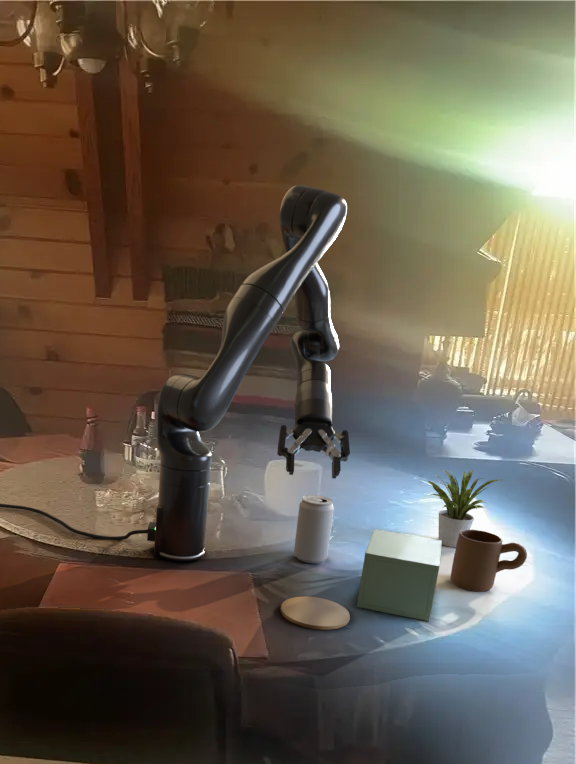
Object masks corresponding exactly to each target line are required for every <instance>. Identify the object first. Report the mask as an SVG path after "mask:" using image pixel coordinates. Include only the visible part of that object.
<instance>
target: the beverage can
mask: <svg viewBox="0 0 576 764" xmlns="http://www.w3.org/2000/svg"><path fill="white" fill-rule="evenodd" d="M301 499H302V500H301V502H300V503H299V505H298V514H297V522H296V531H295V539H294V547H293V555H294V556H295V558H296V559H297V560H298V561H301V562H304V563H306V564H307V563H308V564H321V563H323V562H324V561H326V560H327V559H328V554H329V548H330V539H331V531H332V524H333V518H334V510H335V507H334V505H333V502H334V501H333V500H332V498H329V497H327V496H323V495H317V494H308V495H303V496H302V498H301Z"/></svg>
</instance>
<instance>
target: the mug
mask: <svg viewBox="0 0 576 764" xmlns="http://www.w3.org/2000/svg"><path fill="white" fill-rule="evenodd" d="M511 552H512V553H513V552H516V553H517V556H516V557H515V558H514V559H500V557H501V554H507V553H511ZM527 558H528V551H527V549H526V548H525V546H524V545H522V544H520V543H517V542H508V543H503V538H502V537H500V536H499V535H497V534H495V533H492V532H489V531H485V530H480V529H470V530H462V531H461V532H460V533H459V537H458V540H457V544H456V547H455V548H454V555H453V558H452V559H453V560H452V565H451V569H450V570H451V571H450V581H451V583H453V584H454V585H455V586H456V587H459V588H461V589H464V590H468V591H472V592H487V591H490V590H492V589H493V587H494V584H495V580H496V575H497V573H499V572H502V571H504V570H507V571H509V570H515V569H519V568H520V567H522V566H523V565H524V563H526V560H527Z"/></svg>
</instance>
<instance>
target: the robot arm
mask: <svg viewBox="0 0 576 764" xmlns="http://www.w3.org/2000/svg"><path fill="white" fill-rule="evenodd" d="M347 204H348V203H347V201H346V199H345V198H344V197H343V196H341V195H340V194H338V193H335V192H332V191H329V190H325V189H320V188H317V187H314V186H313V187H312V186H309V185H303V184H295V185H293V186H292V187H290V188H289V189H288V190H287V191H286V193H285V195H283V198H282V200H281V203H280V207H279V217H278V218H279V220H278V221H279V229H280V233H281V238H282V242H283V246H284V250H285V253H284V254H282V255H281V256H279V257H277V258H276V259H273V260H272V261H270V262H268V263H266V264H264V265H263V266H261V267H260V268H258V269H256V270H255V271H253V272H252V273H250V274H249V275H248V276H247V277H246V278H245V279H244V280H243V281H242V282H241V284H240V285H239V287H238V288H237V289H236V291H235V293H234V294H233V296H232V297H231V299H230V300H229V302H228V304H227V306H226V308H225V310H224V314H223V318H222V327H221V341H220V347H219V349H218V352H217V354H216V355H215V357H214V359H213V361H212V362H211V364H209V365H210V366H209V367H208V369H207V370H206V371H205V372H204V374H202V376H201V377H200V376H195V375H191V374H186V373H176V374H174V375H171V376H170V377H169V378H168V379H166V381H165V382H164V383H163V385H162V387H161V389H160V393H159V396H158V402H157V429H156V430H157V434H156V436H157V441H156V442H157V448H158V451H159V455H160V468H159V483H158V484H159V485H158V498H157V506H156V516H155V521H149V523H148V526H147V528H146V529H136V530H135V529H134V530H131V531H128V532H127V533H126V534H125V535H119V536H111V535H110V536H108V535H100V534H94V533H91V532H85V531H82V530H80V529H76V528H73V527H71V526H70V525H69V524H67V523H66V522H65V521H63V520H62V519H59V518H57V517H55V516H53V515H52V514H49V513H48V512H45V511H43V510H40V509H37V508H34V507H30V506H23V505H16V504H8V503H7V504H6V503H0V508H3V509H5V508H6V509H13V510H21V511H28V512H32V513H36V514H40V515H42V516H44V517H46V518H48V519H50V520H52V521H53V522H55V523H58V524H60V525H61V526H63V527H64V528H65V529H67V530H68V531H70V532H72V533H74V534H76V535H78V536H79V535H80V536H84V537H87V538H92V539H99V540H113V541H123V540H127V539H129V538H130V537H131V536H134V535H140V534H146V542H154V545H153V556H154V557H157V558H162V559H164V560H167V561H173V562H180V563H181V562H185V563H186V562H193V561H198V560H200V559H202V558H204V557H205V551H204V549H205V546H206V532H207V521H208V520H207V518H208V506H209V496H210V484H211V483H210V482H211V472H212V462H213V454H212V451H211V450H210V449H209V447H208V446H207V445H206V444H205V443H204V441H203V440H202V438H201V435H200V433H206V432H209V431H211V430H213V429H214V428H215V427H217V425H218V424H219V423H220V422H221V421H222V419H223V418H224V416H225V414H226V413H227V411H228V409H229V407H230V405H231V403H232V401H233V399H234V398H235V395H236V393H237V392H238V389H239V387H240V385H241V383H242V382H243V379H244V377H245V375H246V374H247V371H249V369H250V367H251V365H252V364H253V361H254V360H255V358H256V357H257V355H258V353H259V352H260V350H261V349H262V346H263V345H264V344H265V342H266V340H267V339H268V337H269V336H270V334H271V333H272V332H273V330H274V329H275V327H276V326H277V324H278V322H279V321H280V319H281V318H282V316H283V315H284V313H285V311H286V310H287V308H288V305H289V304H290V303H291V302H292V300H293V298H294V304H295V305H294V306H295V320H296V323H297V325H298V327H299V328H301V329H297V330H295V331H294V332H293V333H292V334H291V336H290V338H289V341H288V342H289V343H288V347H289V352H290V355H291V359H292V361H293V363H294V367H295V370H296V393H295V403H294V416H295V417H294V427H293V428H288V427H287V425H285V424H282V425H280V429H279V433H278V443H277V451H276V454H277V456H279V457H284V458H285V471H286V472H287V473H288V476H293V475H294V473H295V456H296V455H298V454H299V453H300V452H301V450H304V451H305V452H311V451H313V452H317V453H320V452H322V453H323V454H324V455H325V457H328V458H329V459H330V460H331V479H333V480H334V479H335V480H336V479H337V477H339V476H340V473H341V470H342V469H341V466H342V465H341V462H347V461H348V459H349V456H350V455H351V449H350V447H351V446H350V437H349V431H348V430H346V429H343V430H342V432H340V431H339V432H337V431H336V432H335V430H334V429H333V396H332V391H331V369H330V367H329V365H328V364H327V363H325V362H328V361H332V360H333V359H335V358H336V356H337V355H338V353H339V349H340V343H339V338H338V334H337V331H336V330H335V327H334V325H333V321H332V318H331V294H330V288H329V284H328V280H327V279H326V277H325V274H324V272H323V271H322V269H321V267H320V265H319V263H318V262H319V261H320V260H321V258H322V257H323V256H324V255H325V254H326V252H327V251H328V249H329V248H330V247H331V246H332V245H333V243H334V241H335V240H336V239H337V237H338V235H339V234H340V232H341V231H342V229H343V226H344V223H345V221H346V217H347V214H348V205H347ZM291 436H292V438H293V439H294V442H293V443H292V445H291V446H289V448H288V447H286V441H287V439H289V438H290V437H291ZM334 440H336V443H337V444H338V445H340V451H339V449H338V448H337V447H336V444H335V443H334V442H333V441H334Z"/></svg>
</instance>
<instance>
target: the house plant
mask: <svg viewBox="0 0 576 764" xmlns="http://www.w3.org/2000/svg"><path fill="white" fill-rule="evenodd" d="M440 470H441V471H443V472H444V474H445V476H447V478H448V480H449V481H450V483H449V482H447V481H445V482H444V480H443V479H442V478H441V477H440V476H439V475H437V474H435V473H433V475H434V476H436V477H437V478H438V479H439V480H440V481H441V482H442V484H443V485H444V487H445V488H446V490H447V492H448V494H447V492H446V491H444V489H442V488H441V487H440V486H439V485H437V484H436V483H435V482H433V481H430V480H427V482H428V483H429V484H430V485H431V486H432V488H433V490H434V491H435V492H436V493H431V494H429V495H428V497H430V496H435V497H438V498H439V499H440V500H442V501H443V503H444V505H443V508H446V509H445V510H443V509H442V510H440V511H438V539H437V540H442V544H441V545H443V546H446V547H450V548H456V544H457V540H458V537H459V533H460V532H461V531H462V530H471V528H472V525H473V522H474V520H475V517H474V516H473V515H471V514H469V513H468V512H470V511H471V510H474V509H475V510H477V509H481V508H483V509H485V507H484V506H483V505H479V504H483V503H486V504H487V502H486V501H484V500H481V499H477V500H474V499H475V498H476V497H477V496H479V494H481V493H482V492H483V491H485V490H486V489H488V488H490V487H491V485H490V484H492V483H495V482H499V481H501V482H502V479H492V480H488V481H486V482H484V483H482V484H481V485H480V486H479V487H478V488H476V489H475V490H474V488H475V487H476V485H477V483H478V481H479V480H481V479H483V477H479V478H476V479H475V480H473V482H472V484H471V485H470V487H469V488H468V486H469V483H470V481H471V479H472V476H473V473H474V470H473V469H472V470H470V471H468V473H467V474H466V472H465V470H463V471H462V479H461V486H459V483H458V480H457V478H456V476H455V475H454V473H453V472H452V471H451V470H450V469H448V471H449V472H450V473H451V474H450V473H449V472H448V471H446V470H444V469H441V468H440ZM488 485H490V486H488ZM486 486H487V487H486ZM473 490H474V491H473ZM472 492H473V493H472ZM449 496H450V497H449ZM473 500H474V501H473ZM487 506H489V504H487Z"/></svg>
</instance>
